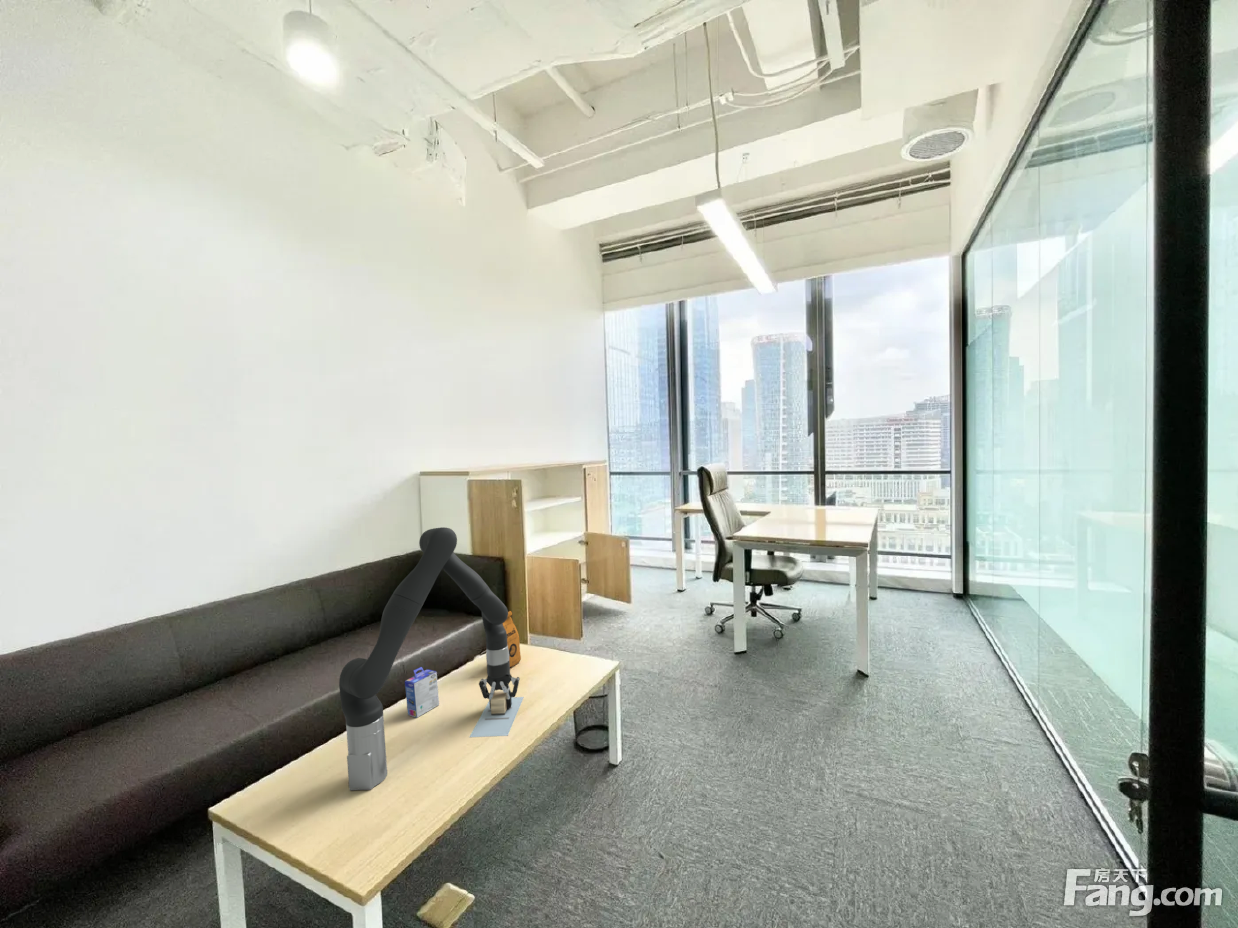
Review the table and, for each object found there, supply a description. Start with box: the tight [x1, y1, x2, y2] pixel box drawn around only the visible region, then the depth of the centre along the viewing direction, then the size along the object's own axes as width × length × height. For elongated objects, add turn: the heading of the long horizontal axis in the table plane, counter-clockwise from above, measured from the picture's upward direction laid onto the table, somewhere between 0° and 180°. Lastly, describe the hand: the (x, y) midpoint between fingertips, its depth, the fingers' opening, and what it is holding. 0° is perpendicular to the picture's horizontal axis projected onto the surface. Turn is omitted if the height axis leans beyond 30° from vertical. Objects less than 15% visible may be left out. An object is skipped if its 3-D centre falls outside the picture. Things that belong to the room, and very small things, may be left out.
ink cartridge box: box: [404, 666, 440, 719], centre depth 175 cm, size 10×6×14 cm, turn 151°
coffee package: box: [503, 610, 522, 668], centre depth 208 cm, size 10×12×22 cm
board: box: [469, 696, 524, 738], centre depth 166 cm, size 24×12×2 cm, turn 179°
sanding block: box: [491, 690, 507, 715], centre depth 170 cm, size 8×4×5 cm, turn 179°
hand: (501, 708), depth 170 cm, fingers closed on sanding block, 4 cm apart
